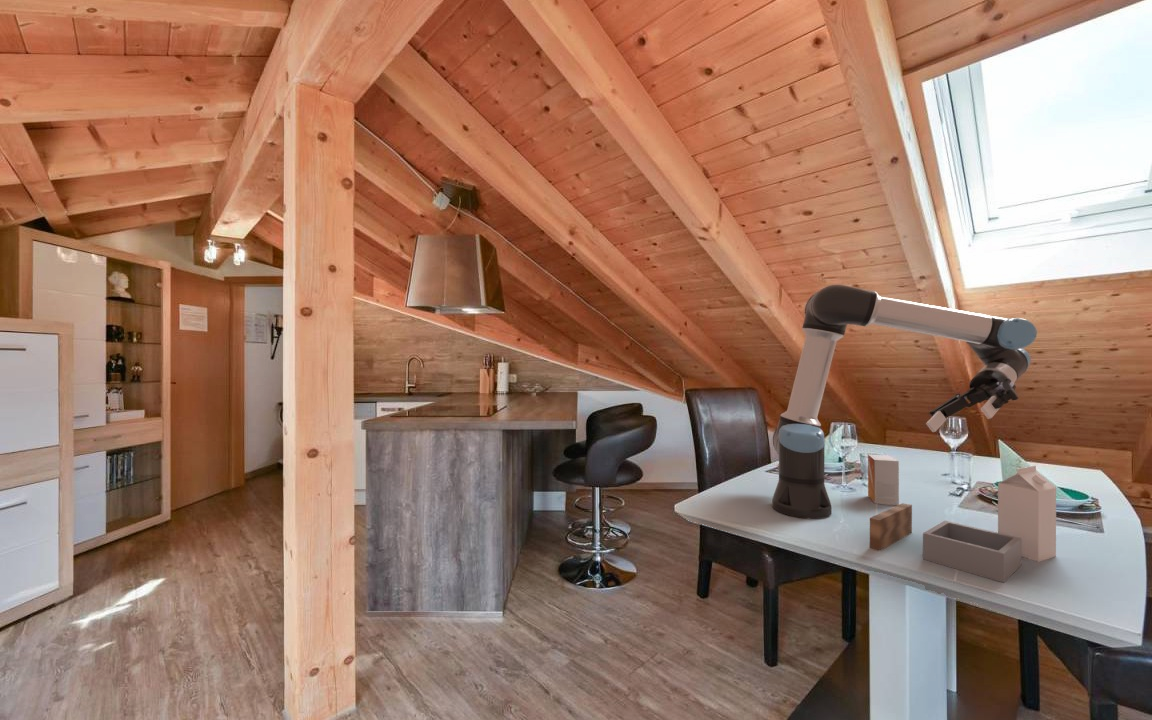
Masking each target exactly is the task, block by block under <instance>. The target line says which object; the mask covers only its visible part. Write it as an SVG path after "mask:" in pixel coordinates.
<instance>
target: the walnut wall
mask: <svg viewBox="0 0 1152 720" xmlns="http://www.w3.org/2000/svg"><path fill="white" fill-rule="evenodd" d="M912 521H913V505H912V504H908V503H904V502H903V503H899V505H894V506H893V507H891V508H888V509H886V510H884V511H882V512H880V513H877V514H875V515H873V516H871V517H869V548H870V549H873V550H875V551H879V552H880V551H882V550H884V549H885V548H887V547H889V546H891V545H893V544H894V543H896V542H897V541H900V540H902V539H904V538H905V537H907V536H909V535H911V534H913V527H912V526H913V522H912Z"/></svg>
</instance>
